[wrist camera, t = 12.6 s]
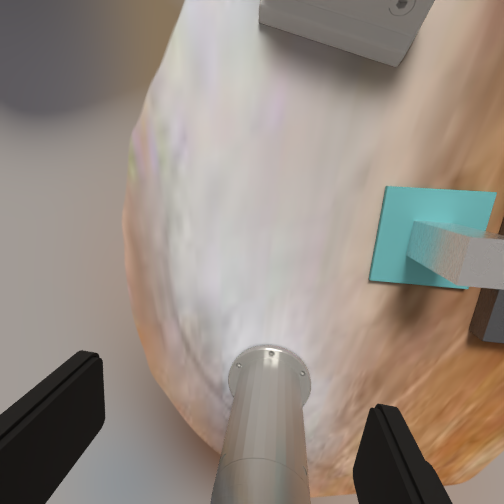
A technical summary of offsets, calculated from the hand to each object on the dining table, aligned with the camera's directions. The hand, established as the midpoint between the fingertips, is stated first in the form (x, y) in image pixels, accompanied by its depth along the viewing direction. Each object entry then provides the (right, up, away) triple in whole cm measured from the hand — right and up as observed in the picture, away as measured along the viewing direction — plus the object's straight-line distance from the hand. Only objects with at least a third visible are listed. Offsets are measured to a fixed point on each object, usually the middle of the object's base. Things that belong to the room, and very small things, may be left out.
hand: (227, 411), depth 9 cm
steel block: (+23, +7, +23) cm, 33 cm away
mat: (+23, +7, +24) cm, 34 cm away
